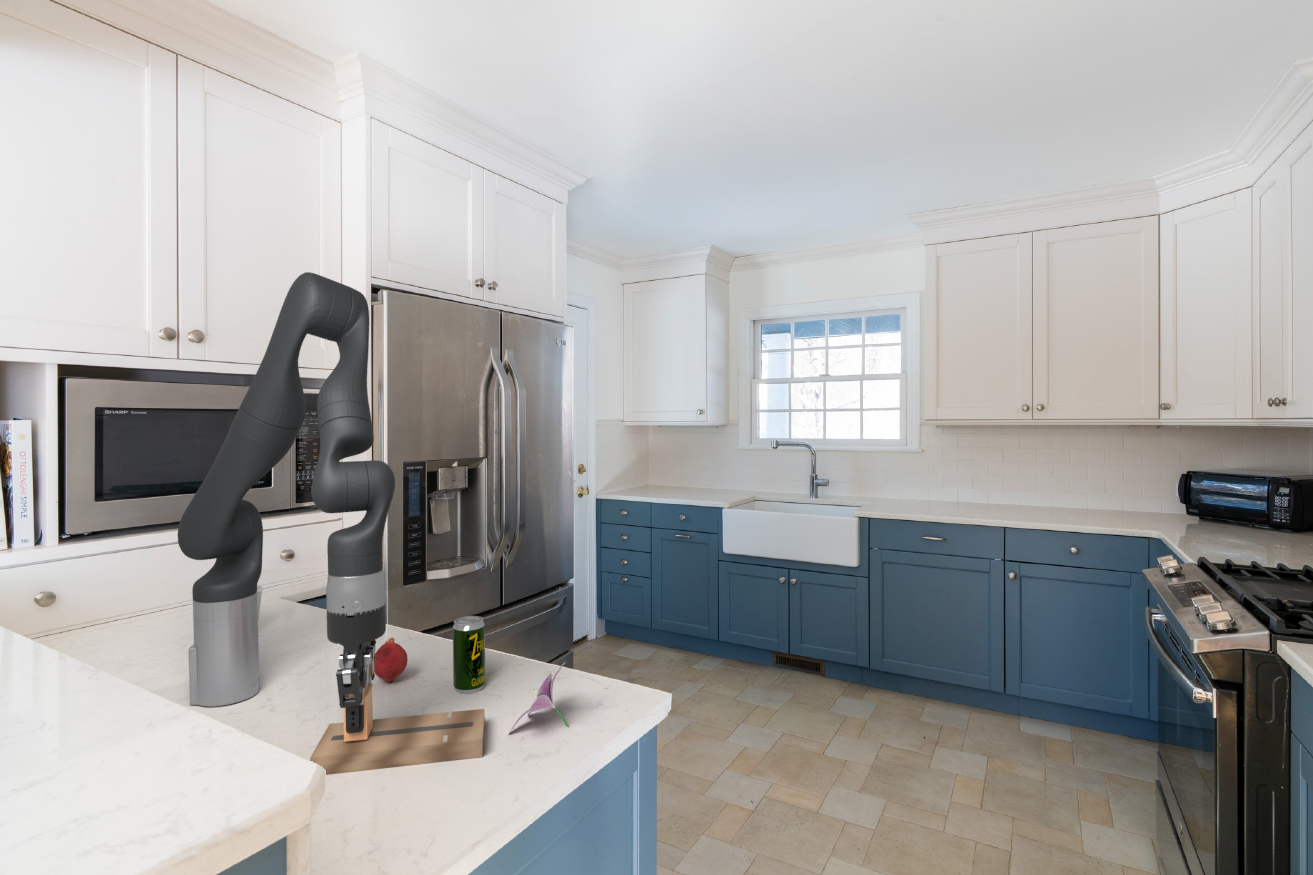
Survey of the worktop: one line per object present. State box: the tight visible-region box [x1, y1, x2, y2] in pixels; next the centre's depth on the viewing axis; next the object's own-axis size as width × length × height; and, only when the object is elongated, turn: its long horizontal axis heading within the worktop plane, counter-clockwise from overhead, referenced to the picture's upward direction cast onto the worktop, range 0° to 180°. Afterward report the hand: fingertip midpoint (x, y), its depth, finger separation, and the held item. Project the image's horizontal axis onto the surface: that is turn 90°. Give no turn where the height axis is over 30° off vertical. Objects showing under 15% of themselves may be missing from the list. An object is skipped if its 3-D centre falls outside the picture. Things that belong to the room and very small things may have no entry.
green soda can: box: [452, 615, 486, 695], centre depth 117 cm, size 5×5×12 cm
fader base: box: [309, 708, 486, 775], centre depth 96 cm, size 22×10×3 cm, turn 103°
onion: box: [374, 636, 408, 683], centre depth 120 cm, size 6×6×8 cm
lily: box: [508, 660, 570, 735], centre depth 103 cm, size 12×12×10 cm
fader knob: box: [342, 685, 374, 742], centre depth 94 cm, size 3×4×6 cm
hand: (358, 723), depth 94 cm, fingers closed on fader knob, 4 cm apart
